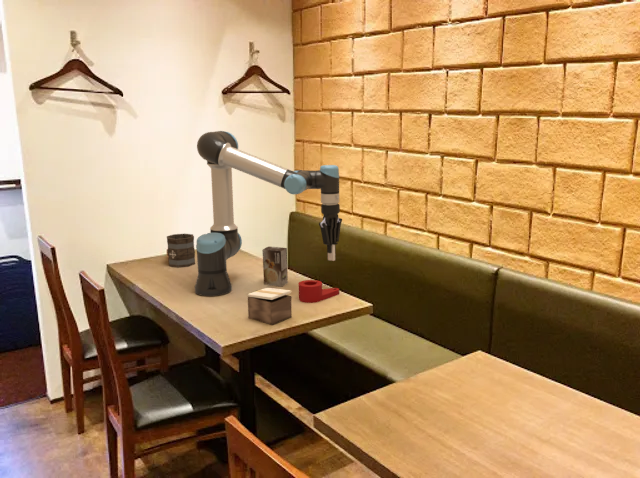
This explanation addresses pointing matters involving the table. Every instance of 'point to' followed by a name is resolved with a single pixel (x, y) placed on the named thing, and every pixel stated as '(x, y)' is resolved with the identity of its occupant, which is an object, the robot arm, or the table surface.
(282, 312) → the box
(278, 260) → the coffee box
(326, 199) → the robot arm
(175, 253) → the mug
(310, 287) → the lever
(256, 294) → the lid
